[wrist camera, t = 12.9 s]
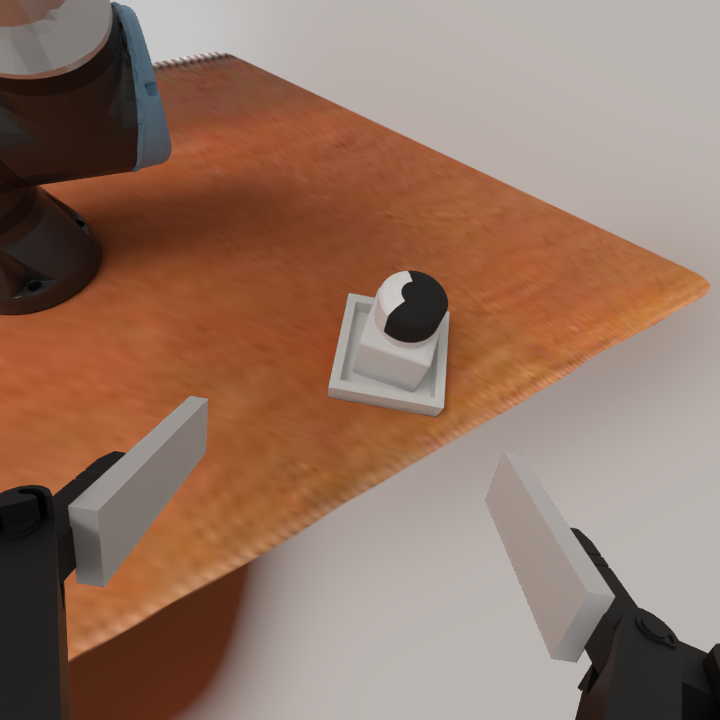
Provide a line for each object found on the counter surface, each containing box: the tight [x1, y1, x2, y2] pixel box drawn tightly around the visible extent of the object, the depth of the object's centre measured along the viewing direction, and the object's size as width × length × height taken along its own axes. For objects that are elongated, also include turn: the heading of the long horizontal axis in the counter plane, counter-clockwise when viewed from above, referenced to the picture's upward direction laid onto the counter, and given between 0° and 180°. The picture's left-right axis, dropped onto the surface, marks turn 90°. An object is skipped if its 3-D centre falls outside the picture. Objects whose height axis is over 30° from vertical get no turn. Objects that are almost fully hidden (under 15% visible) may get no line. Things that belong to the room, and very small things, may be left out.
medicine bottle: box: [353, 271, 448, 392], centre depth 36 cm, size 7×7×12 cm
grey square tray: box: [328, 293, 450, 417], centre depth 41 cm, size 12×12×3 cm
